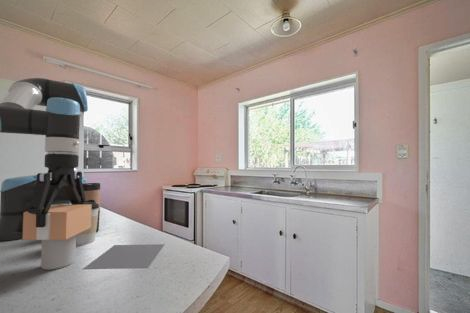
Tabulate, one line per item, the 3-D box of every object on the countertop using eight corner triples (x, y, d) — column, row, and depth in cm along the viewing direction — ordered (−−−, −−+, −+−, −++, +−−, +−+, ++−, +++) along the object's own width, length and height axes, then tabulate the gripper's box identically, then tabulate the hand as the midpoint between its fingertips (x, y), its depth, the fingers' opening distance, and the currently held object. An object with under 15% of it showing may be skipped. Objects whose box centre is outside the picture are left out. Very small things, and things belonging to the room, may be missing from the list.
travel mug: (102, 231, 91) (104, 183, 92) (82, 236, 85) (83, 185, 85) (93, 228, 95) (95, 182, 96) (73, 233, 89) (75, 184, 89)
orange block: (54, 227, 66) (55, 204, 66) (90, 227, 66) (91, 204, 66) (22, 240, 55) (23, 212, 55) (65, 239, 56) (66, 212, 56)
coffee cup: (82, 249, 72) (83, 204, 72) (60, 247, 74) (61, 202, 74) (104, 240, 81) (105, 199, 81) (83, 238, 83) (84, 198, 83)
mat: (114, 246, 74) (114, 245, 74) (164, 246, 75) (164, 244, 75) (82, 271, 57) (82, 269, 57) (147, 270, 58) (147, 267, 58)
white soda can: (36, 275, 55) (38, 227, 56) (45, 263, 62) (47, 220, 62) (72, 268, 59) (73, 224, 59) (77, 258, 65) (78, 218, 66)
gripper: (42, 151, 50) (38, 248, 49) (99, 155, 73) (97, 221, 72) (8, 151, 50) (4, 248, 49) (76, 155, 73) (74, 221, 72)
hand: (59, 232), depth 61 cm, fingers closed on orange block, 11 cm apart
